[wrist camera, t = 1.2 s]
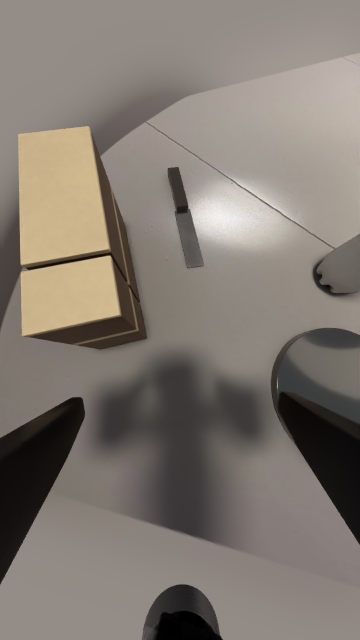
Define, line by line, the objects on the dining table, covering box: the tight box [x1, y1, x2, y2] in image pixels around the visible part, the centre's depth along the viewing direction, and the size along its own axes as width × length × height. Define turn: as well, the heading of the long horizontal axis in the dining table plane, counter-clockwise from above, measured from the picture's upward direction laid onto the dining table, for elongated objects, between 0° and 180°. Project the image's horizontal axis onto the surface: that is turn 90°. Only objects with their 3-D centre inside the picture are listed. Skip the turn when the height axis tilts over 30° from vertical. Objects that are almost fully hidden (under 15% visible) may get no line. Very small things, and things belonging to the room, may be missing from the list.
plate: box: [272, 328, 360, 443], centre depth 20 cm, size 16×16×1 cm
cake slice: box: [21, 256, 147, 349], centre depth 16 cm, size 4×6×11 cm
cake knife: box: [168, 167, 204, 268], centre depth 26 cm, size 18×2×1 cm, turn 11°
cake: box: [18, 126, 140, 303], centre depth 18 cm, size 13×6×11 cm, turn 14°
